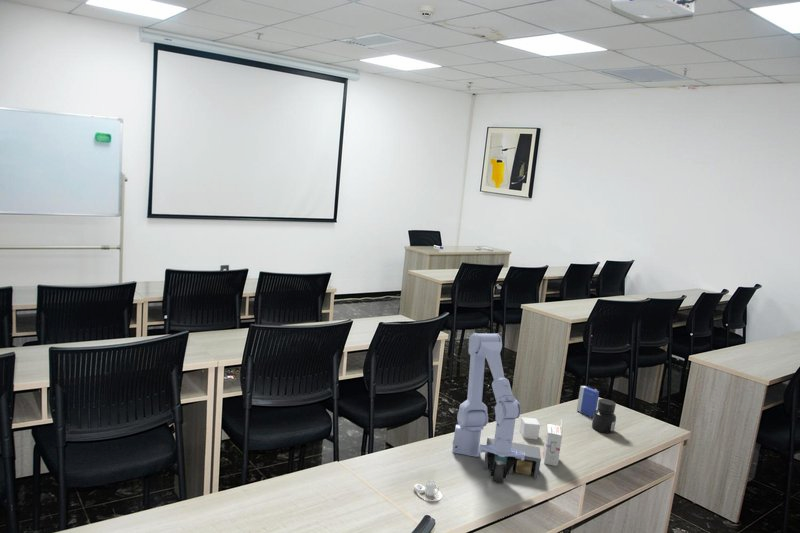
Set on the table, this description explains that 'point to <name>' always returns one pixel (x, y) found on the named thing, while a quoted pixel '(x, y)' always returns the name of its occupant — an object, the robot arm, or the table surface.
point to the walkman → (587, 400)
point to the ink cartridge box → (552, 444)
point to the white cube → (529, 428)
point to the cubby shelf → (530, 454)
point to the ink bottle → (604, 416)
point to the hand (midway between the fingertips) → (498, 476)
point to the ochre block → (523, 466)
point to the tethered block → (499, 469)
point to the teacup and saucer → (429, 489)
